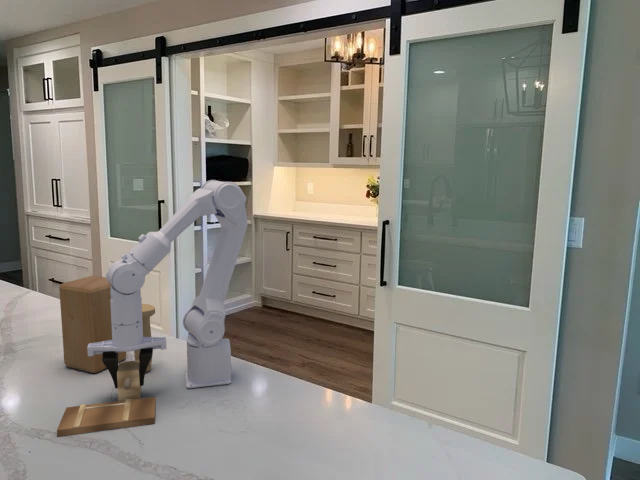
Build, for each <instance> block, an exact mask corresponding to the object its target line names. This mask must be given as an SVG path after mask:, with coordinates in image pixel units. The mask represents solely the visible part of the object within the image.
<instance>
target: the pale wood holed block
mask: <svg viewBox="0 0 640 480" xmlns="http://www.w3.org/2000/svg"><path fill="white" fill-rule="evenodd" d="M117 385H118V388H117V400H118V401H125V400H126V399H131V400H133V399H141V395H142V394H141V392H142V386H140V362H139V360H136V361H135V360H126V361H120V362H118V370H117Z"/></svg>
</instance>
